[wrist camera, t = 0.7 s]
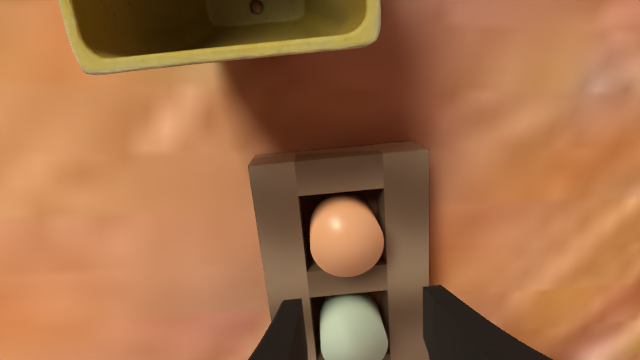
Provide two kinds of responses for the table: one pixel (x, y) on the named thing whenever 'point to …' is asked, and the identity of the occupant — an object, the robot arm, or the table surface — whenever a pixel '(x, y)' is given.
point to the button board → (392, 216)
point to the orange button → (345, 235)
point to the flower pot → (210, 30)
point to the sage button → (352, 328)
